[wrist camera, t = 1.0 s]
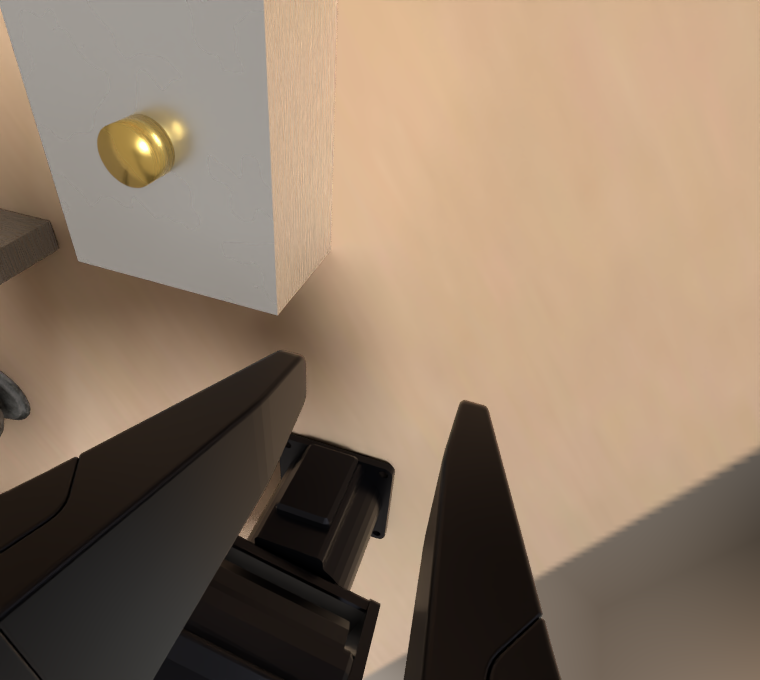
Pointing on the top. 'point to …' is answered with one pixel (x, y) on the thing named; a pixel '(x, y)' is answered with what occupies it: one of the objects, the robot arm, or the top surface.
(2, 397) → the salt shaker
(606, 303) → the top surface
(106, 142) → the drawer
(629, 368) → the top surface
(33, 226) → the frame
